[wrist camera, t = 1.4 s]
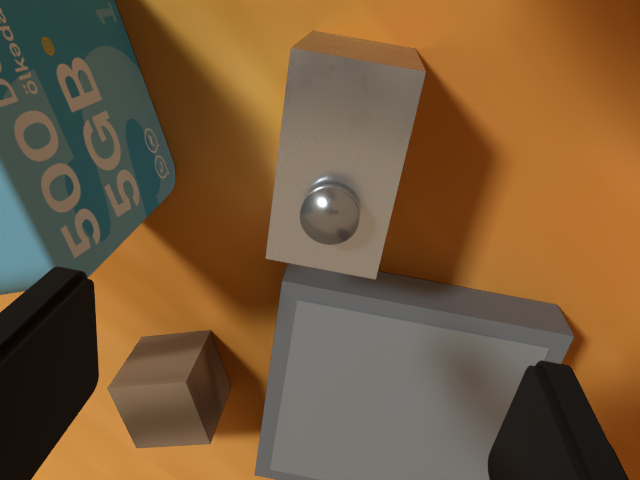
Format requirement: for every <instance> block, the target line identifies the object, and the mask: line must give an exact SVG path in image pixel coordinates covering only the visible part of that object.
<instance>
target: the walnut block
mask: <svg viewBox="0 0 640 480" xmlns="http://www.w3.org/2000/svg"><path fill="white" fill-rule="evenodd" d="M107 389H108V391H109V393H110V395H111V397H112V399H113V401H114V403H115V405H116V407H117V409H118V411H119V413H120V415H121V417H122V419H123V422H124V424H125V426H126V428H127V430H128V432H129V434H130V436H131V438H132V440H133V442H134V444H135V446H136V448H150V447H167V446H185V445H202V444H211V441H212V438H213V435H214V433H215V430H216V427H217V425H218V422H219V419H220V416H221V414H222V411H223V408H224V405H225V403H226V400H227V397H228V395H229V392H230V389H231V386H230V383H229V381H228V378H227V375H226V372H225V369H224V366H223V363H222V361H221V358H220V355H219V352H218V349H217V346H216V343H215V341H214V338H213V335H212V332H211V330H207V331H197V332H187V333H177V334H167V335H157V336H147V337H141V339H140V340H139V342H138V343H137V345H136V346H135V348H134V349H133V351H132V352H131V354H130V355H129V357H128V358H127V360H126V361H125V363H124V364H123V366H122V367H121V369H120V370H119V372H118V373H117V375H116V376H115V378H114V379H113V381H112V382H111V384H110V385H109V387H108V388H107Z"/></svg>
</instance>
